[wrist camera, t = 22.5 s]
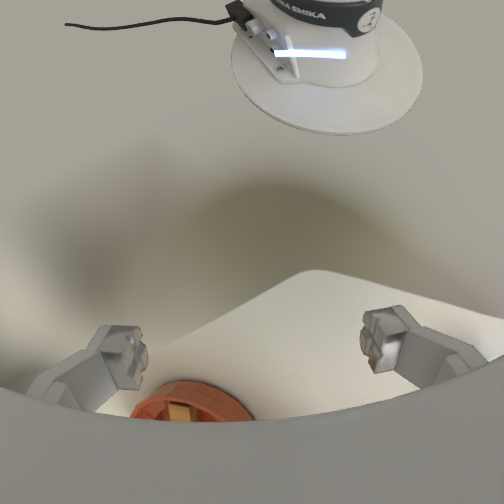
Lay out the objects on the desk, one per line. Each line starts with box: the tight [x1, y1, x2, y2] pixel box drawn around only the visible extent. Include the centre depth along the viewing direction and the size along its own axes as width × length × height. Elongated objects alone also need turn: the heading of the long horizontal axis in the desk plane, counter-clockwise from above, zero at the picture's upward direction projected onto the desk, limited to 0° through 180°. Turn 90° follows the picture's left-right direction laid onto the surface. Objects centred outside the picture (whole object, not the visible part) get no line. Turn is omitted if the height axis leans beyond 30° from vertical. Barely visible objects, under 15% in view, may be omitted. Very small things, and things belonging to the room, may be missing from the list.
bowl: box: [130, 381, 254, 422], centre depth 34 cm, size 18×18×6 cm
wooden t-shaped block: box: [168, 401, 199, 422], centre depth 31 cm, size 15×6×4 cm, turn 1°
